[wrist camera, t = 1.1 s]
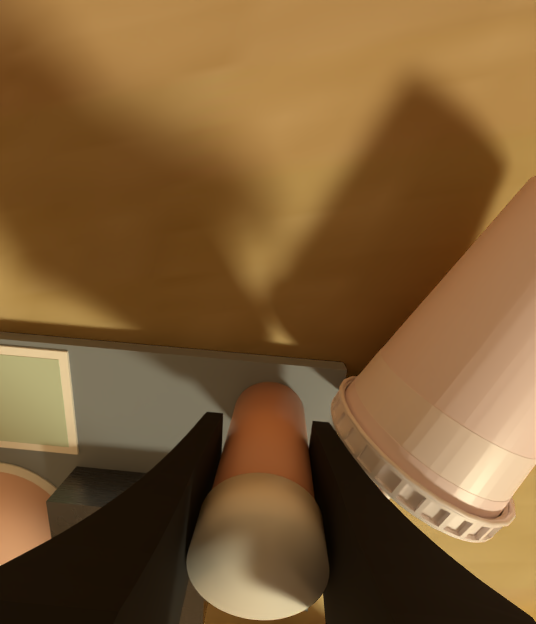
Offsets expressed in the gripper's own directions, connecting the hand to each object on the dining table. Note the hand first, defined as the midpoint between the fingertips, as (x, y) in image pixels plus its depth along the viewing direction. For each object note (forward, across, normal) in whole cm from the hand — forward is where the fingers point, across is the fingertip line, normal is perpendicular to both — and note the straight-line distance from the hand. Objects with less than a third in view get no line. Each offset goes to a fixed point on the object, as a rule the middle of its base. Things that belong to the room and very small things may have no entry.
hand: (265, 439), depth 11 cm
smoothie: (0, -9, -9) cm, 13 cm away
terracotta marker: (+2, 0, +1) cm, 2 cm away
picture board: (+3, +7, +6) cm, 9 cm away
